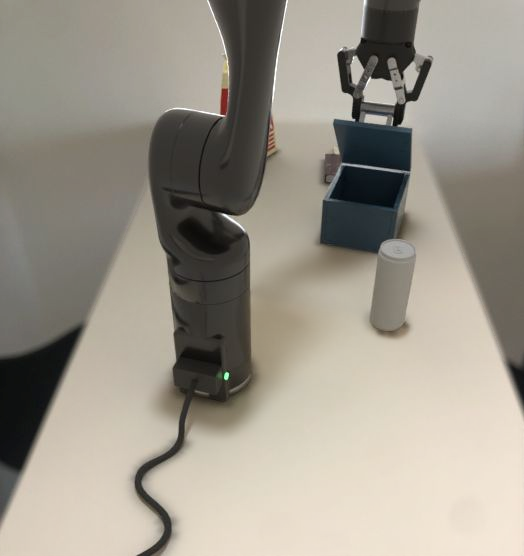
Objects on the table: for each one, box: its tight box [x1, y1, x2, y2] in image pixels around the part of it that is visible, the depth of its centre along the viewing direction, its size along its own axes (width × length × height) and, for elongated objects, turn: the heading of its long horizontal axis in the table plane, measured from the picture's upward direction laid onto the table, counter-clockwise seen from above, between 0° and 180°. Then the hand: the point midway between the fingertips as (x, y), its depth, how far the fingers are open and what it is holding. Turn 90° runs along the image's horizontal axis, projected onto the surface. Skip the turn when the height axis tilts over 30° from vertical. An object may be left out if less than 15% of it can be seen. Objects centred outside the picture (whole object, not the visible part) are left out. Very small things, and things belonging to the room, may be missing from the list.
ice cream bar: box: [323, 145, 354, 184], centre depth 130 cm, size 5×2×15 cm
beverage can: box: [369, 238, 417, 332], centre depth 90 cm, size 5×5×12 cm
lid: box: [332, 100, 413, 173], centre depth 106 cm, size 14×12×5 cm
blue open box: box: [319, 163, 411, 254], centre depth 111 cm, size 14×12×8 cm
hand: (376, 123), depth 103 cm, fingers closed on lid, 5 cm apart
